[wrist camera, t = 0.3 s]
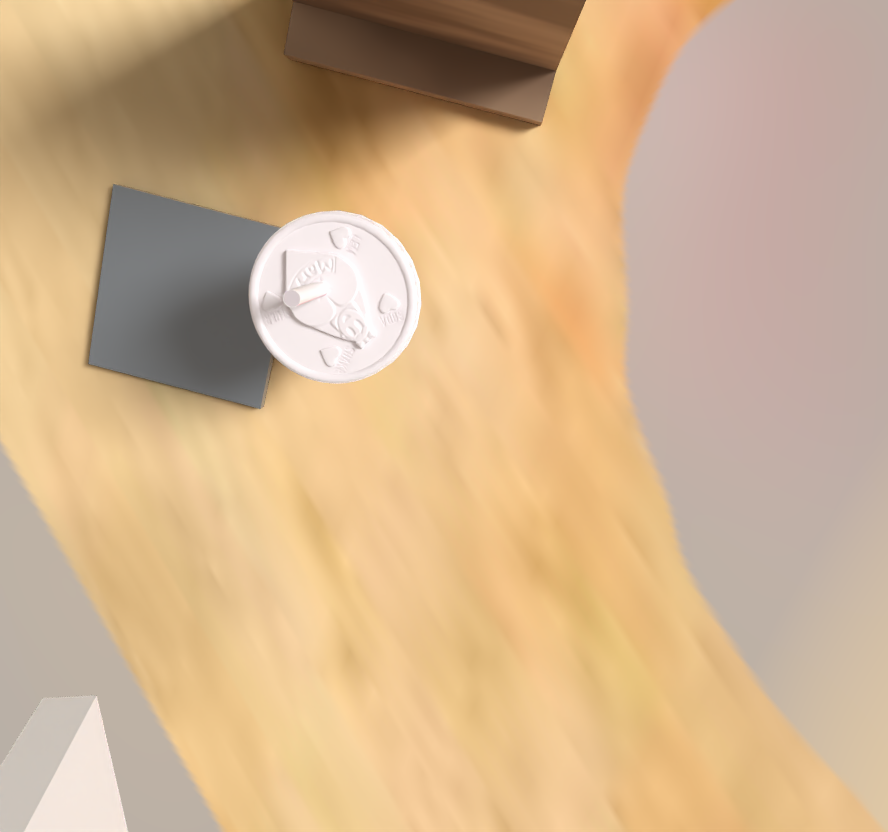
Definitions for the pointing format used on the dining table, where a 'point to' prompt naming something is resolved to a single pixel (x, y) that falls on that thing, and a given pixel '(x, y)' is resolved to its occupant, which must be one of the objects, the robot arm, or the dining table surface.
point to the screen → (442, 47)
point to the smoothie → (334, 296)
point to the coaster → (181, 297)
